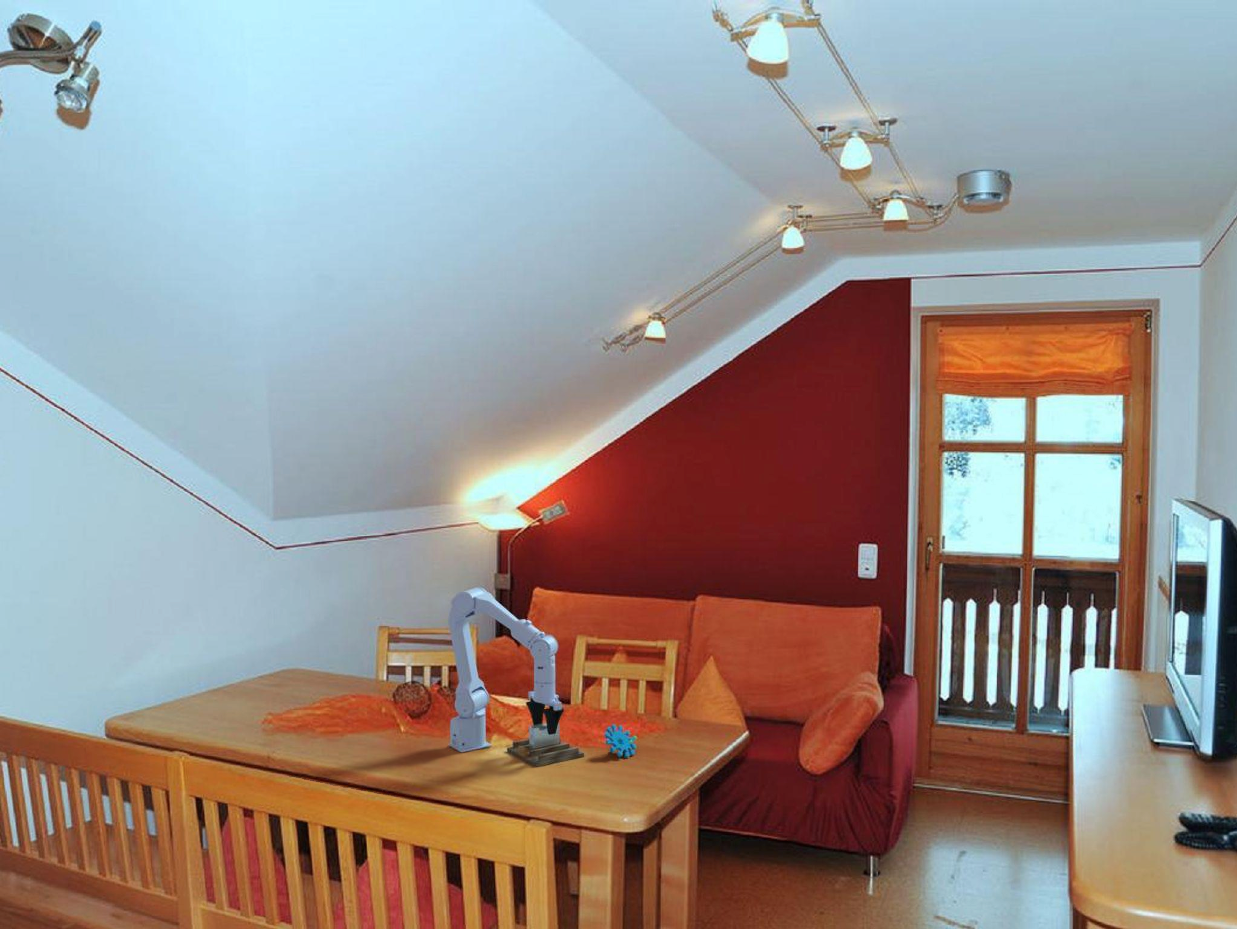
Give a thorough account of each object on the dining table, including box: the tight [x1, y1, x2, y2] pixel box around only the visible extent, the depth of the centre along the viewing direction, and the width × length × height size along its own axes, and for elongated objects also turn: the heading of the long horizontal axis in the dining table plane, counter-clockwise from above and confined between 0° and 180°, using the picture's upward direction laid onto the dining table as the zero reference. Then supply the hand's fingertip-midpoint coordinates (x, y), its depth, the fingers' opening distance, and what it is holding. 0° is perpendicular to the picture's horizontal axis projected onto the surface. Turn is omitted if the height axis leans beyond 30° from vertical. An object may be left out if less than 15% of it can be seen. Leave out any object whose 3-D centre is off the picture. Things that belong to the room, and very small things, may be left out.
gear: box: [603, 724, 638, 759], centre depth 283 cm, size 11×6×10 cm
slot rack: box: [506, 738, 585, 768], centre depth 283 cm, size 15×16×3 cm
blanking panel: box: [528, 722, 560, 751], centre depth 283 cm, size 8×2×7 cm, turn 124°
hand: (544, 730), depth 283 cm, fingers open, 7 cm apart
